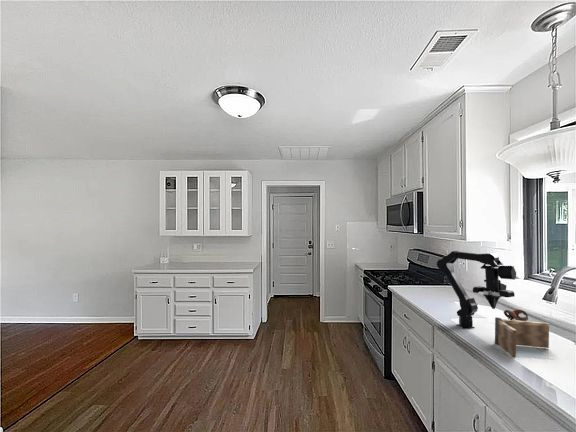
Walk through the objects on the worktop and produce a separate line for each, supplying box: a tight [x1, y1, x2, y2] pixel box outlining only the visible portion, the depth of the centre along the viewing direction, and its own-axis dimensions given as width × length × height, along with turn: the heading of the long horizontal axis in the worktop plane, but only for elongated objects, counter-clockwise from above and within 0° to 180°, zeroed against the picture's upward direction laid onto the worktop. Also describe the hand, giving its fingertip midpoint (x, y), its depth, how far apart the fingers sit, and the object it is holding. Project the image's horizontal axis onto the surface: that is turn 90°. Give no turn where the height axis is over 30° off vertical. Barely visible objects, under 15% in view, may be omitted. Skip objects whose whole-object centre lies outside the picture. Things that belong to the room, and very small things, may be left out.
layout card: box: [491, 341, 554, 361], centre depth 154 cm, size 17×17×1 cm
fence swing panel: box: [501, 318, 550, 349], centre depth 158 cm, size 19×1×11 cm, turn 77°
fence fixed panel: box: [494, 316, 517, 358], centre depth 154 cm, size 17×2×12 cm, turn 171°
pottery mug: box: [503, 308, 529, 321], centre depth 199 cm, size 12×10×8 cm
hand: (493, 308), depth 176 cm, fingers closed
